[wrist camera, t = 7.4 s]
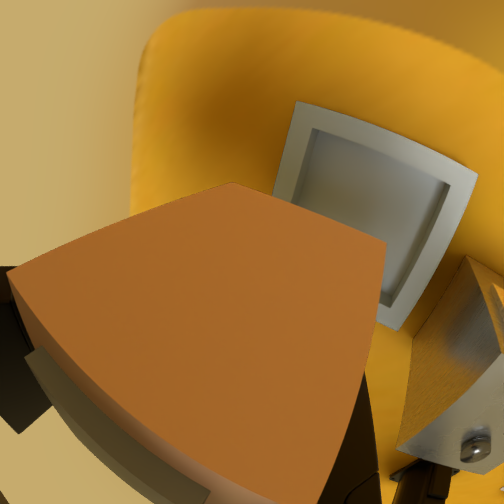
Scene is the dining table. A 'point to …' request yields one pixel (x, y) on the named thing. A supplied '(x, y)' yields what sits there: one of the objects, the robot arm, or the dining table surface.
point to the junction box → (459, 376)
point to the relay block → (207, 344)
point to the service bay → (377, 195)
